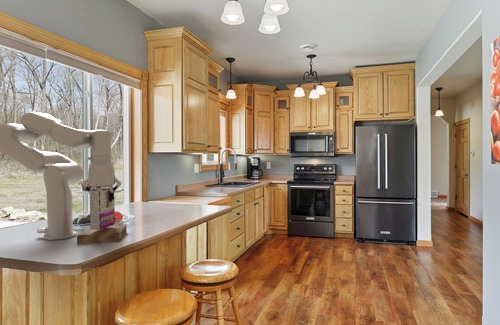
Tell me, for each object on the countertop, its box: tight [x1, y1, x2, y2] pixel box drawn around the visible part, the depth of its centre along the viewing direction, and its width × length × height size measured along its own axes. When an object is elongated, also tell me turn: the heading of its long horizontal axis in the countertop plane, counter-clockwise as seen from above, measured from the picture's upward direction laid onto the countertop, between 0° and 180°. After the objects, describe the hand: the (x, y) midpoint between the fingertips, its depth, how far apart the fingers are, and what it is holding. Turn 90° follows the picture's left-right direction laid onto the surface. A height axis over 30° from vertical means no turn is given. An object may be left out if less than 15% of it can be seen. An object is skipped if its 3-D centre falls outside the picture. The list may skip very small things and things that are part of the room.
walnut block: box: [76, 224, 127, 245], centre depth 141 cm, size 16×16×4 cm
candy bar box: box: [88, 186, 116, 230], centre depth 141 cm, size 11×5×16 cm, turn 172°
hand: (102, 201), depth 141 cm, fingers closed on candy bar box, 6 cm apart
